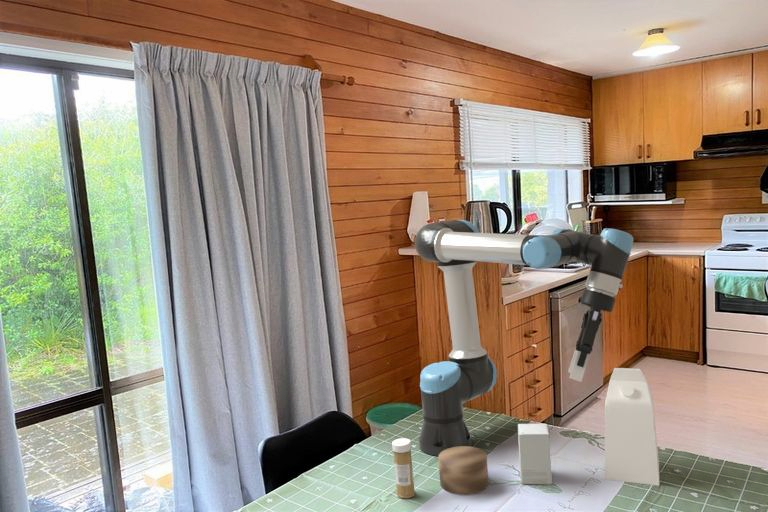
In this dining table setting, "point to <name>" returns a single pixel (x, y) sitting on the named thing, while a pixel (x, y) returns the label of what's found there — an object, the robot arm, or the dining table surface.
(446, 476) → the brown cylinder
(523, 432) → the supplement box
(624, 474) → the milk
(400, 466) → the sprinkles bottle
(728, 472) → the dining table surface
